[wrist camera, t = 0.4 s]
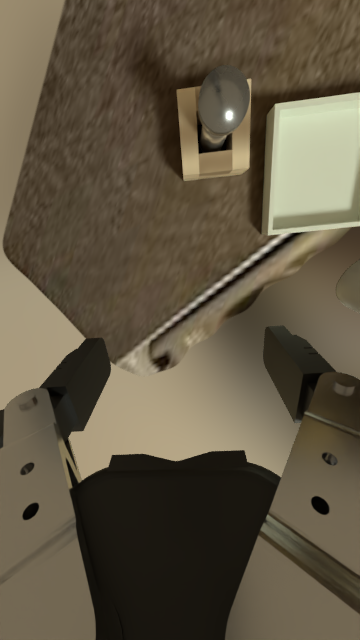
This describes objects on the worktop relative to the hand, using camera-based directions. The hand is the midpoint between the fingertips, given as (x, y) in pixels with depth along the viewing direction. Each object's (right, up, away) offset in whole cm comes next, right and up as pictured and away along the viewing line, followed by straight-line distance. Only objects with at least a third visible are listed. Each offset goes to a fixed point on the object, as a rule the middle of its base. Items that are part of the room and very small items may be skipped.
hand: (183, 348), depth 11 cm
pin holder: (+4, +25, +18) cm, 31 cm away
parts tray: (+18, +21, +19) cm, 34 cm away
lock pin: (+4, +25, +18) cm, 31 cm away
